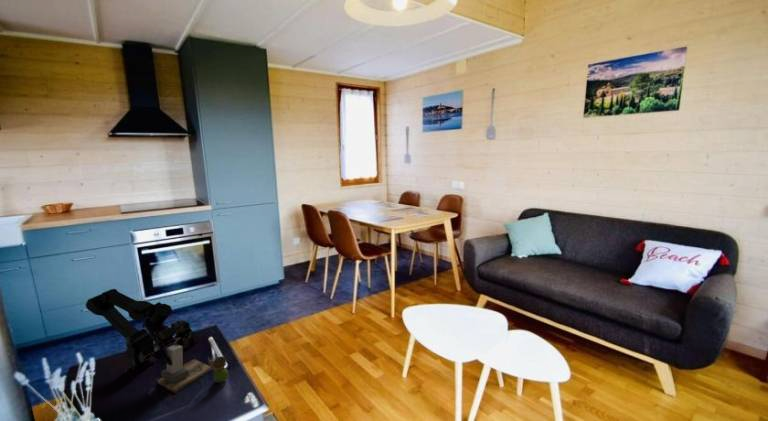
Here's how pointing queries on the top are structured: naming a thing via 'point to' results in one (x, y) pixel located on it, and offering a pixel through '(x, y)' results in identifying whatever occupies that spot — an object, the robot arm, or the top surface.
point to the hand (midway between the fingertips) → (177, 361)
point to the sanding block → (175, 365)
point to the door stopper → (192, 337)
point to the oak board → (194, 372)
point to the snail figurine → (219, 369)
